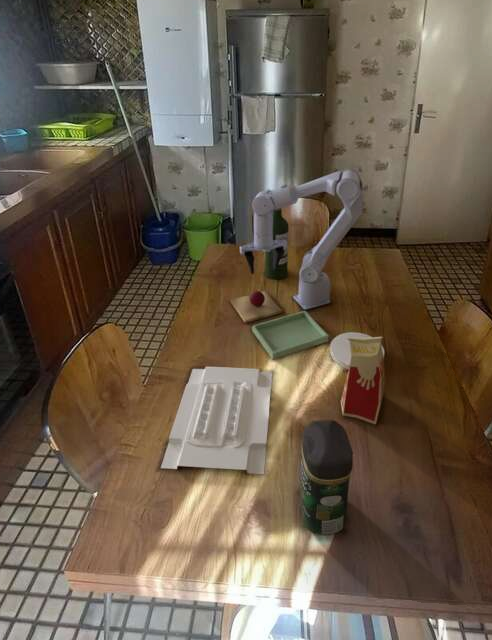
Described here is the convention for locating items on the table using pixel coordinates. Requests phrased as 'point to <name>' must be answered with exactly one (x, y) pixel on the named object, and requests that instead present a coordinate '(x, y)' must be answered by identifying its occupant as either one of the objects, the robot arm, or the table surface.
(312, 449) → the coffee jar
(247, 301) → the board
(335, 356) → the plastic lid
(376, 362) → the milk carton
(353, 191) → the robot arm
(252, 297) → the plum
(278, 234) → the wine bottle
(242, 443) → the tray
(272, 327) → the tray
